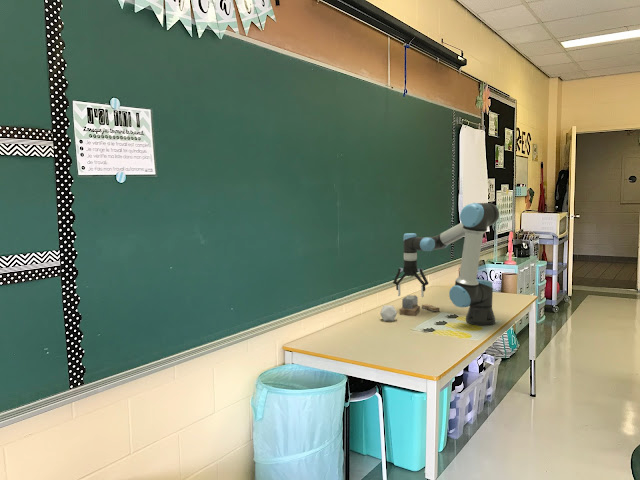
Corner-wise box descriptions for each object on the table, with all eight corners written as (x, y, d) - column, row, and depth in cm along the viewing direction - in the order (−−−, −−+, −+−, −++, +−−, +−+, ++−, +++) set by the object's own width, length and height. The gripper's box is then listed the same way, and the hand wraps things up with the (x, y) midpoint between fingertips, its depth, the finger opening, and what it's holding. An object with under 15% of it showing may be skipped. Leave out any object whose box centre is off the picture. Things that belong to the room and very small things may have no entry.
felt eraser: (439, 312, 295) (439, 308, 294) (434, 313, 293) (434, 308, 293) (427, 308, 305) (427, 304, 305) (421, 308, 304) (421, 304, 304)
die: (392, 324, 270) (401, 308, 272) (377, 315, 271) (386, 300, 273) (390, 326, 278) (398, 310, 280) (376, 317, 279) (384, 302, 282)
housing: (417, 305, 296) (417, 295, 295) (412, 309, 287) (412, 298, 286) (407, 304, 299) (407, 294, 298) (402, 308, 290) (402, 297, 289)
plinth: (419, 310, 297) (419, 305, 297) (415, 315, 285) (415, 310, 285) (404, 309, 300) (404, 304, 300) (399, 314, 288) (399, 309, 288)
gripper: (433, 259, 289) (433, 296, 290) (390, 258, 298) (391, 294, 300) (430, 261, 282) (431, 298, 283) (387, 260, 291) (388, 296, 293)
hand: (410, 296), depth 291 cm, fingers open, 13 cm apart
